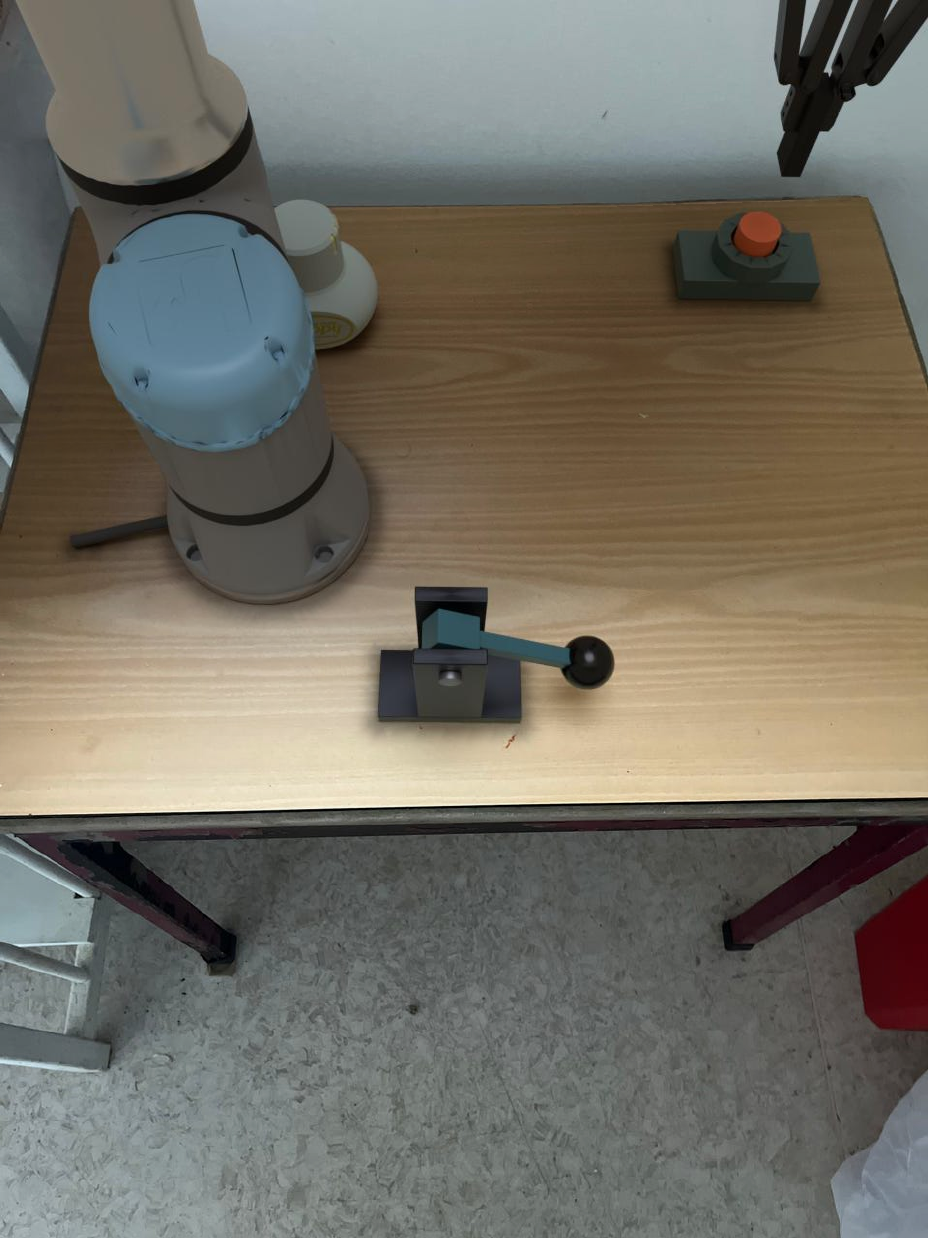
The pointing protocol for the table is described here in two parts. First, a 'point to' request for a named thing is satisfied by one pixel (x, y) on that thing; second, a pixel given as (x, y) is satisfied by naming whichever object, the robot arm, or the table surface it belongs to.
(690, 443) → the table surface
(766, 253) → the button
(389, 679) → the switch bracket
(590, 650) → the switch lever
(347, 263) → the air freshener
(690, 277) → the button box
